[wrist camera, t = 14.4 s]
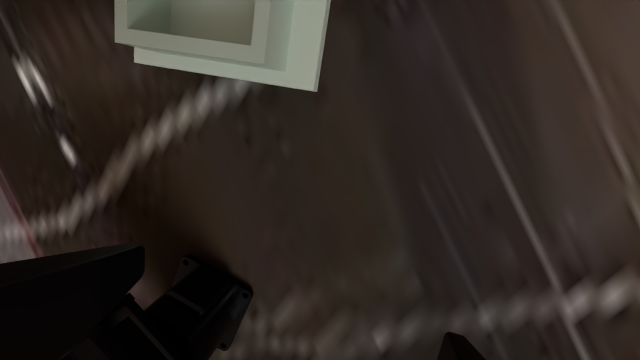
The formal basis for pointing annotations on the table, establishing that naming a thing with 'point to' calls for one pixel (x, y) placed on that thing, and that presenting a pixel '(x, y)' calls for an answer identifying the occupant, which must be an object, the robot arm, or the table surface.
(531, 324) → the table surface
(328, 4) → the compartment organizer
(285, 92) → the table surface
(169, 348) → the robot arm
